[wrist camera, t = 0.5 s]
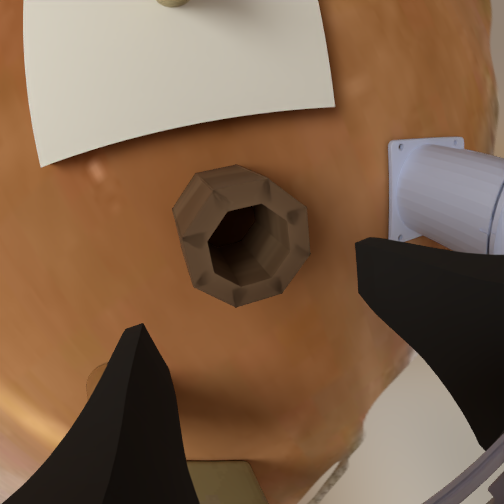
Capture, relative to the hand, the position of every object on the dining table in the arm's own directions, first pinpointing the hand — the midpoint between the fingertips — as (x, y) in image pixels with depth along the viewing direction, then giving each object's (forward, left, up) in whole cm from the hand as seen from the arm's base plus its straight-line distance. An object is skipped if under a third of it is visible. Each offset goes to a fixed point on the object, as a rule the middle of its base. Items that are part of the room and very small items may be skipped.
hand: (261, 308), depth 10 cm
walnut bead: (-1, 0, -9) cm, 9 cm away
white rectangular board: (0, -12, -9) cm, 15 cm away
